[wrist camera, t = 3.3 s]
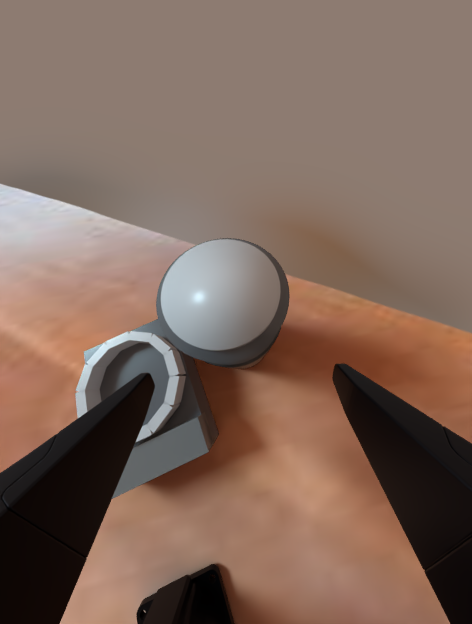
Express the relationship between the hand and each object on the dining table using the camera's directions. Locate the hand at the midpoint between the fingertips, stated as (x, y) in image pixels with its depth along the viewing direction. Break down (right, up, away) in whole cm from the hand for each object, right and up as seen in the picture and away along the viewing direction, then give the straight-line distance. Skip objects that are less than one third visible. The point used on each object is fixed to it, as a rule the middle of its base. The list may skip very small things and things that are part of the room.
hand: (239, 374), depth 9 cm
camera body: (-8, -5, +10) cm, 14 cm away
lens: (0, 0, +11) cm, 11 cm away
